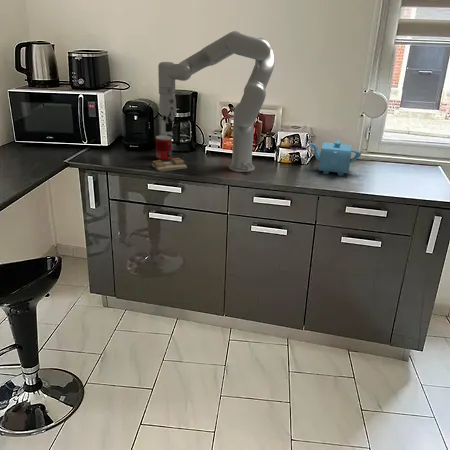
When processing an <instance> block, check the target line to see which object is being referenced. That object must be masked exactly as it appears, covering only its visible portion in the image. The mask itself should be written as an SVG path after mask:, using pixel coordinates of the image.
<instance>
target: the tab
mask: <svg viewBox="0 0 450 450" xmlns="http://www.w3.org/2000/svg"><path fill="white" fill-rule="evenodd" d="M166 123H167V122H166V119H165V120H162V119H161V127H160V128H161V131H160V133H161V135H166V136H170V135H173V131H172V132H166Z"/></svg>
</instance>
